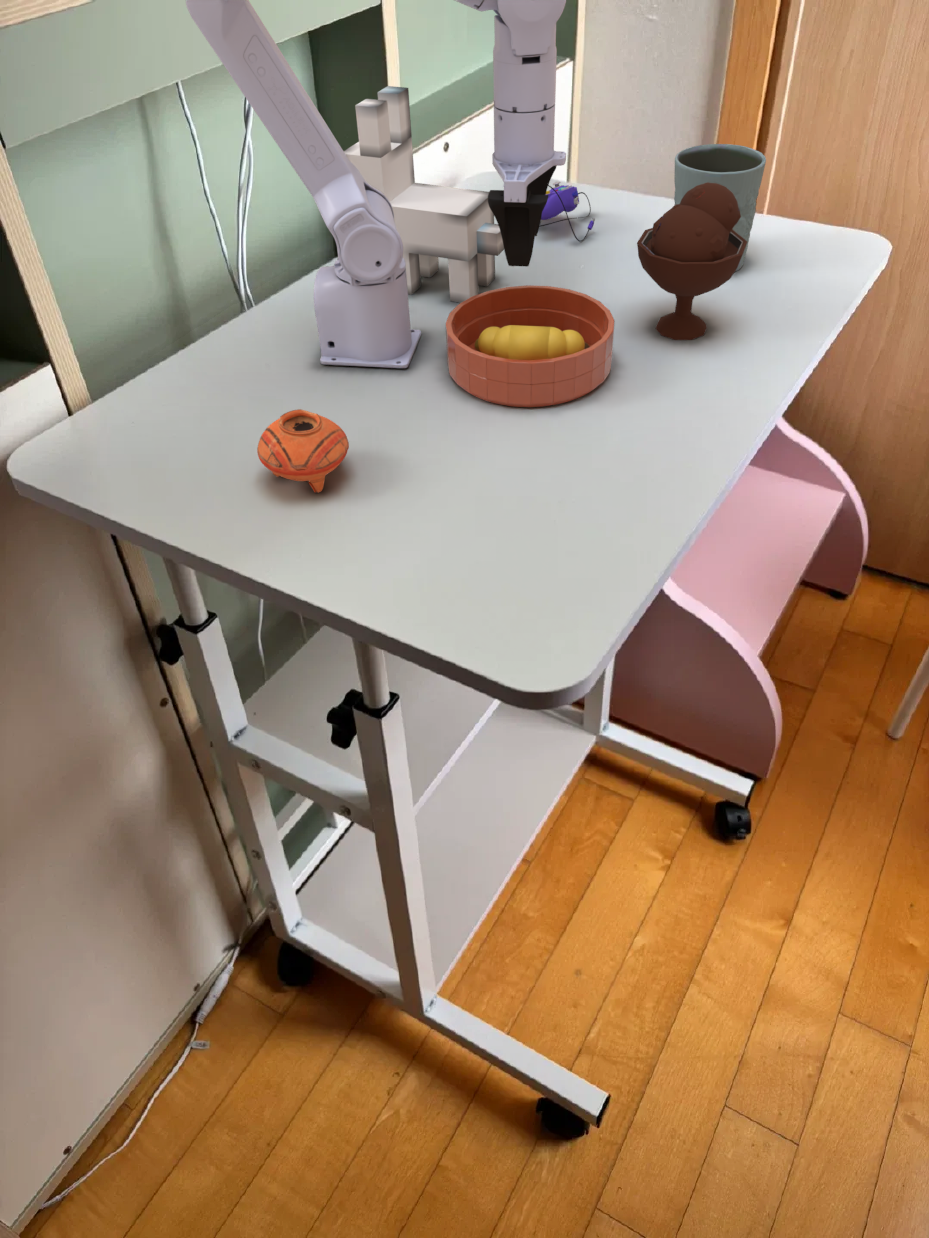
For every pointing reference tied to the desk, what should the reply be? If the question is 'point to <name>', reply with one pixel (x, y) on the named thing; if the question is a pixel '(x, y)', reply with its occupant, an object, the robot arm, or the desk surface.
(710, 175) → the grey green cup
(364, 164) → the toy llama
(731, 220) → the ice cream bowl
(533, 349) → the banana
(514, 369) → the bowl
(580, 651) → the desk surface
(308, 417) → the pot
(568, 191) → the game controller
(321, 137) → the robot arm
